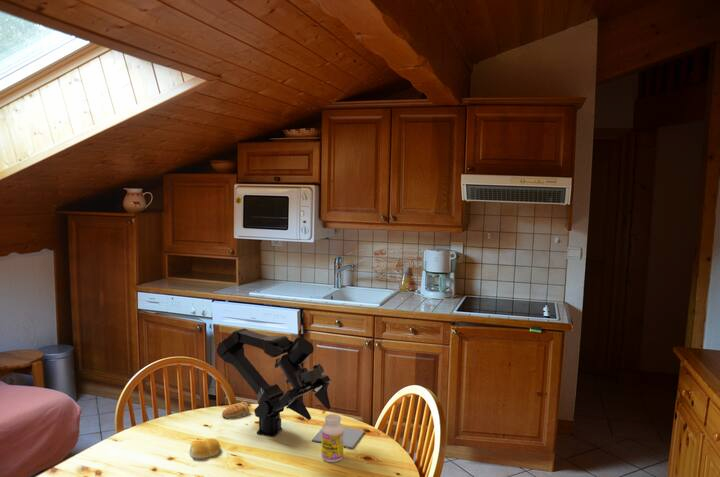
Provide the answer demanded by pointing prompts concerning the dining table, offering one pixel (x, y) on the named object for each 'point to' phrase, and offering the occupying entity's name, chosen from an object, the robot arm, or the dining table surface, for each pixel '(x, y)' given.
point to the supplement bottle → (332, 438)
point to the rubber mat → (349, 437)
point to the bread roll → (204, 448)
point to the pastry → (236, 410)
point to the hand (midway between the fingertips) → (320, 414)
